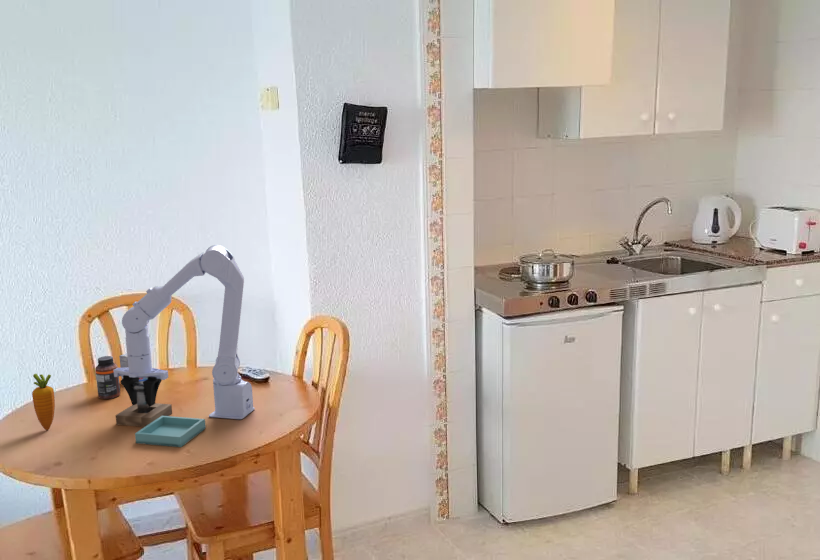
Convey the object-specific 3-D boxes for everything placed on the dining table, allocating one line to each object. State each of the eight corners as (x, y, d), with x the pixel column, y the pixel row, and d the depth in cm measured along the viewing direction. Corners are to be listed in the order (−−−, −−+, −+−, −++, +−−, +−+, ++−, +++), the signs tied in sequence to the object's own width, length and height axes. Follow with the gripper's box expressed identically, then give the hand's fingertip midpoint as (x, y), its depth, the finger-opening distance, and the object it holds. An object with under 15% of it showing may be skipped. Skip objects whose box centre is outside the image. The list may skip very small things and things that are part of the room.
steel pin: (156, 414, 210) (154, 381, 208) (147, 420, 205) (144, 386, 204) (142, 413, 211) (139, 380, 209) (132, 419, 206) (129, 385, 205)
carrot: (62, 427, 203) (56, 370, 200) (48, 434, 199) (42, 376, 196) (45, 426, 205) (39, 369, 202) (32, 433, 200) (25, 375, 197)
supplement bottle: (113, 391, 230) (109, 353, 228) (124, 395, 227) (121, 356, 224) (94, 397, 226) (90, 358, 224) (105, 401, 222) (101, 362, 220)
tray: (205, 428, 201) (204, 418, 200) (180, 447, 189) (180, 437, 189) (162, 425, 204) (161, 415, 203) (135, 443, 192) (134, 433, 192)
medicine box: (130, 385, 235) (127, 357, 234) (121, 383, 238) (118, 354, 236) (153, 378, 241) (150, 350, 240) (144, 376, 244) (142, 348, 242)
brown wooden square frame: (172, 413, 212) (171, 404, 211) (151, 427, 202) (150, 417, 202) (138, 410, 214) (137, 401, 214) (116, 424, 205) (115, 415, 204)
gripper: (104, 356, 203) (109, 407, 205) (155, 359, 199) (160, 411, 202) (120, 348, 209) (125, 398, 212) (170, 351, 206) (175, 401, 208)
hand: (143, 404), depth 207 cm, fingers closed on steel pin, 4 cm apart
